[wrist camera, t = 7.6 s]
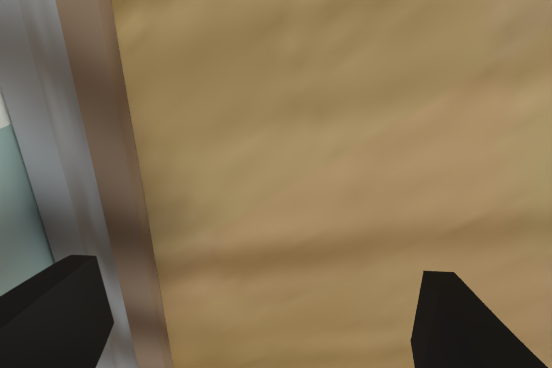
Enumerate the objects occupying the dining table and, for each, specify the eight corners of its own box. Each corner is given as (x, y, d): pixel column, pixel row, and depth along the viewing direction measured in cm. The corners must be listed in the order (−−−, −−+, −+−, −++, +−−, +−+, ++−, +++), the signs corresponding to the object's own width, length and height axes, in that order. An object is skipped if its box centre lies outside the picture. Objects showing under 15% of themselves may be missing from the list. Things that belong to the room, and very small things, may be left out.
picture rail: (173, 367, 25) (155, 414, 22) (18, 354, 26) (-17, 398, 23) (102, -48, 15) (54, -53, 12) (-148, -46, 16) (-244, -51, 13)
